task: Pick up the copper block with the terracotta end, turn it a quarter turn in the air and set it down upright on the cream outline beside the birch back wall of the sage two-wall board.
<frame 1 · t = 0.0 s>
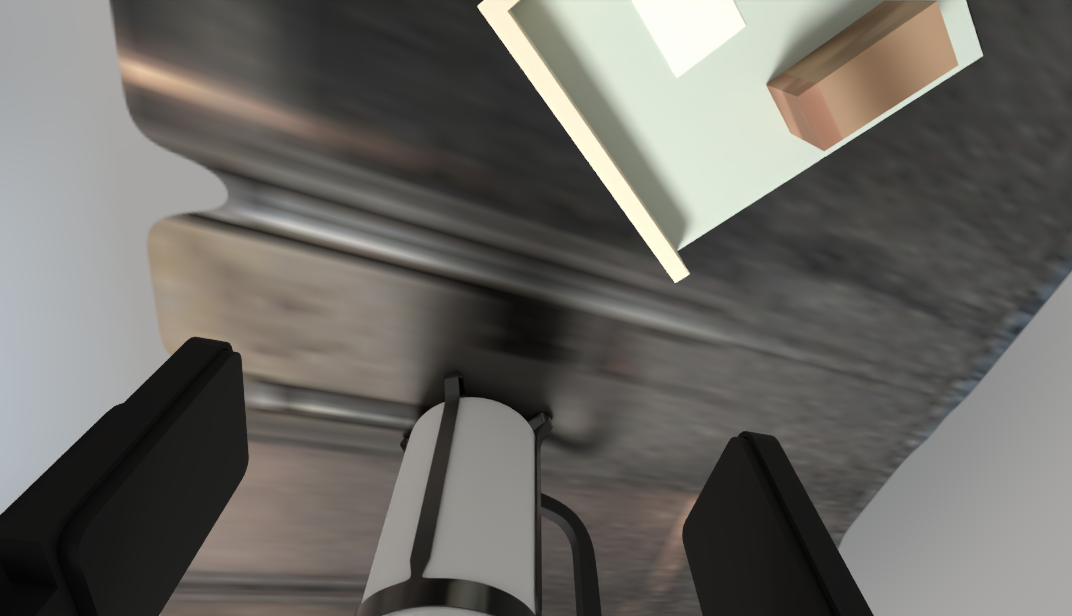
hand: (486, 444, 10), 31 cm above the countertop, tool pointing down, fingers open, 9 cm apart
copper block: (835, 70, 35), resting on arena
coffee press: (490, 430, 52), on the countertop
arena: (735, 30, 34), on the countertop
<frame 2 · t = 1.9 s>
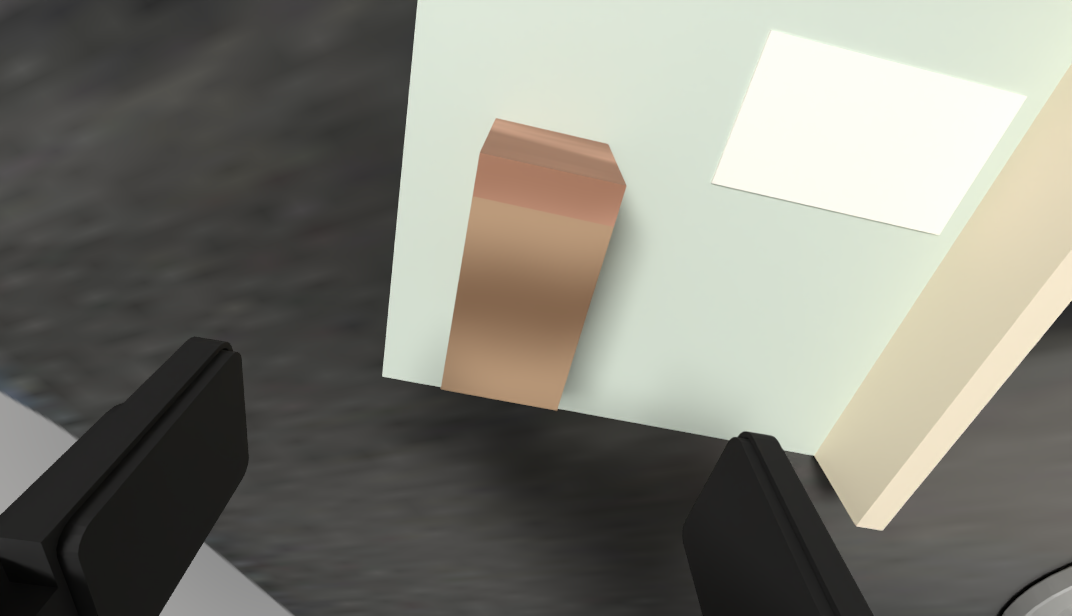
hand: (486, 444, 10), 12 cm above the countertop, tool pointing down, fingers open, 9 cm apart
copper block: (528, 236, 20), resting on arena
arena: (712, 165, 19), on the countertop
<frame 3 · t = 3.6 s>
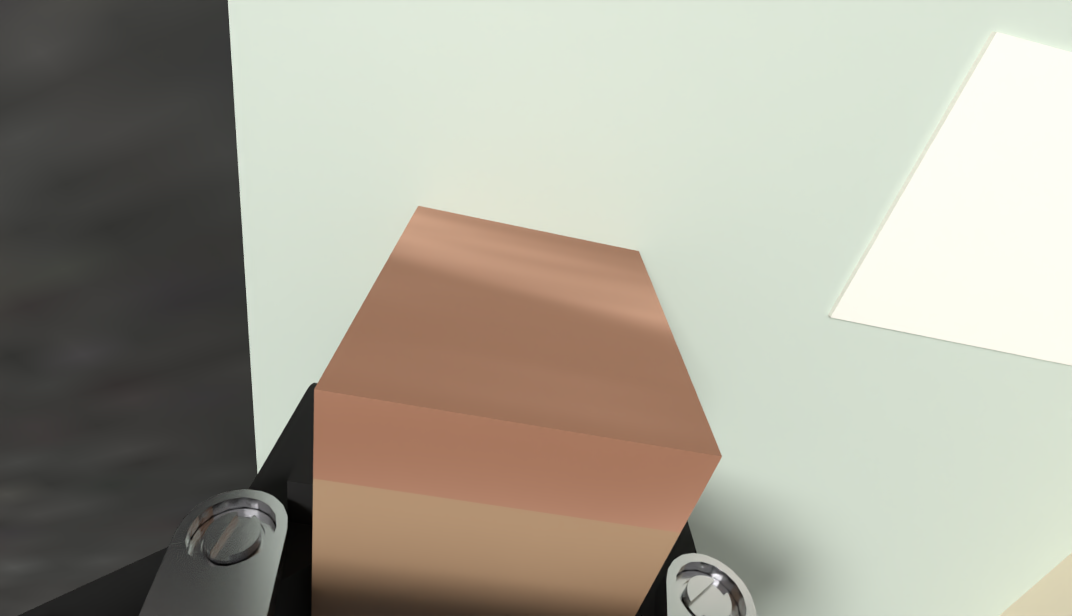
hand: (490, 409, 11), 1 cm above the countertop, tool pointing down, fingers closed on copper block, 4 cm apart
copper block: (491, 400, 11), point 1 cm above the countertop, touching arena, gripper
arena: (828, 280, 11), on the countertop
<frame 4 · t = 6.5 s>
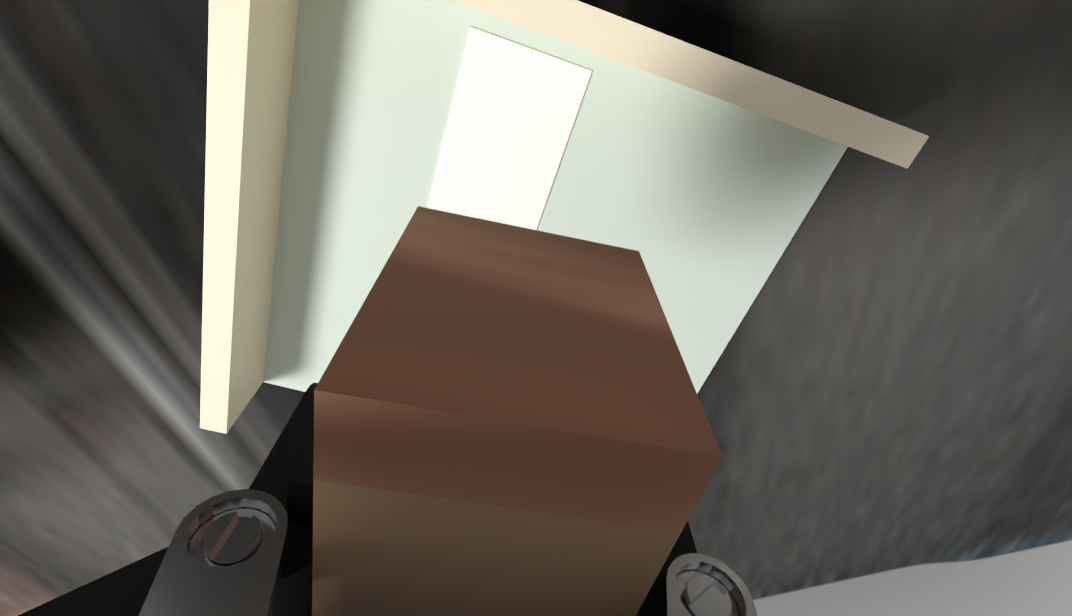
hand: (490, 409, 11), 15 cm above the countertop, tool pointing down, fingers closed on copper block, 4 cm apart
copper block: (492, 400, 11), point 15 cm above the countertop, touching gripper
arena: (513, 258, 26), on the countertop
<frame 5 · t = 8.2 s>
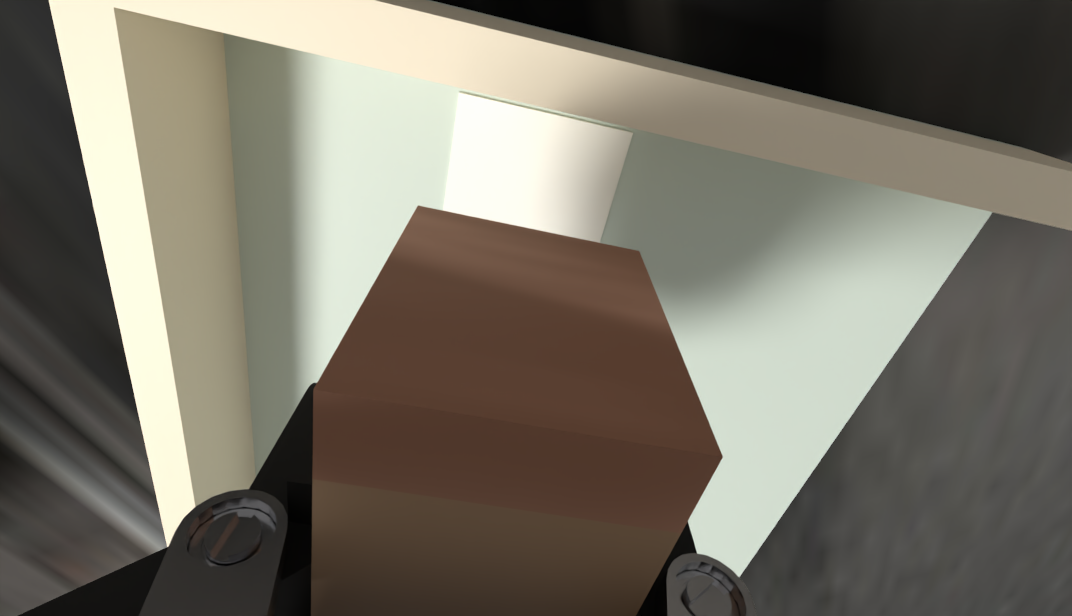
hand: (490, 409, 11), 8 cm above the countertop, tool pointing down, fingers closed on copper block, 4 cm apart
copper block: (491, 400, 11), point 7 cm above the countertop, touching gripper
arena: (545, 365, 20), on the countertop
when the fingers open (2 cm above the countertop, at t = 9.6 s): copper block stays where it is, resting on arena.
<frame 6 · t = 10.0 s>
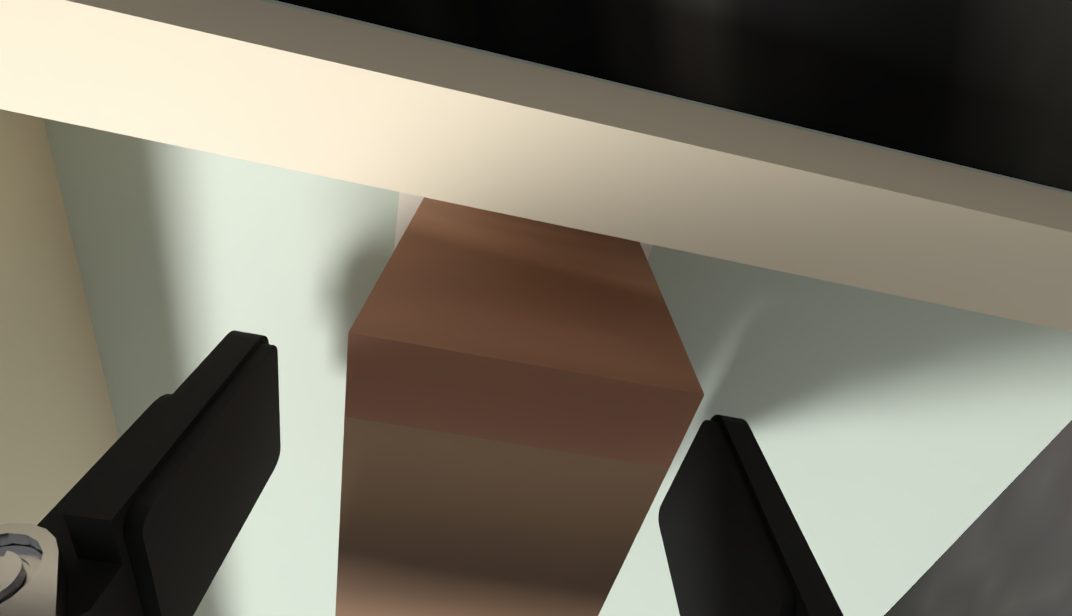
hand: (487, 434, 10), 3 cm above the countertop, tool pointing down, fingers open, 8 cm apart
copper block: (497, 372, 12), point 1 cm above the countertop, touching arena
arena: (537, 497, 15), on the countertop
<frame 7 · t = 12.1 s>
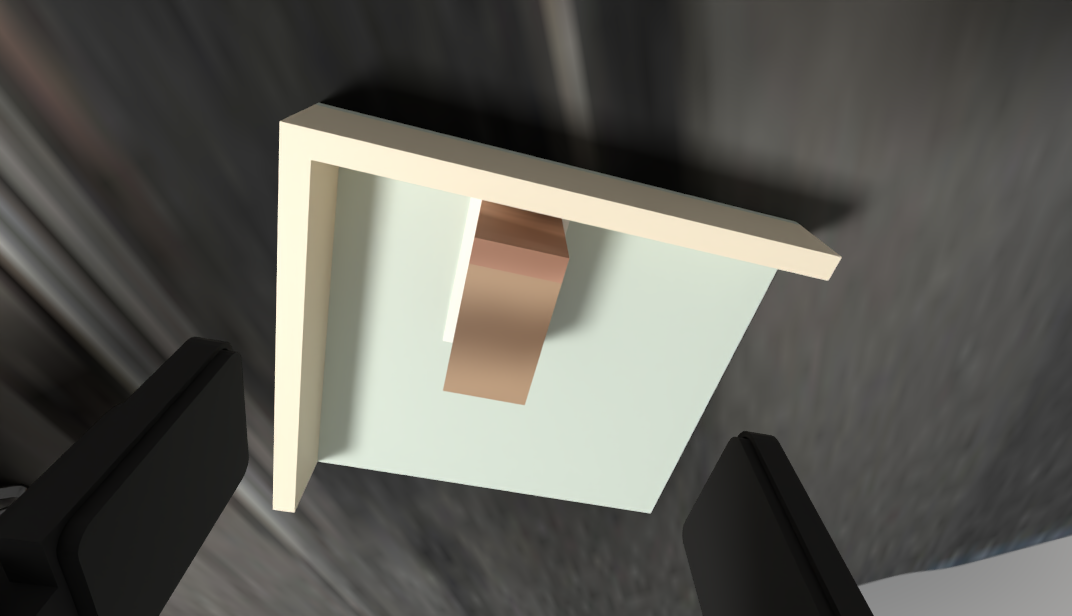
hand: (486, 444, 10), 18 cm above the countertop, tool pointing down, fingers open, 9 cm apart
copper block: (504, 279, 28), point 1 cm above the countertop, touching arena
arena: (520, 350, 31), on the countertop
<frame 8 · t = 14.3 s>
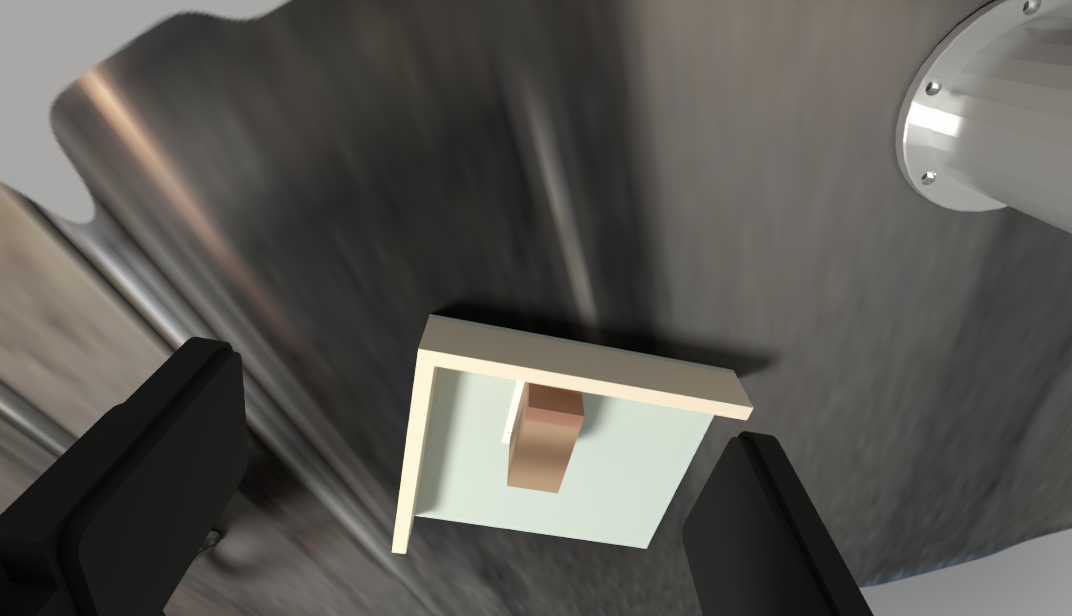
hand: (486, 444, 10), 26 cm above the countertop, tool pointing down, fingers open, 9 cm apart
copper block: (543, 407, 43), point 1 cm above the countertop, touching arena
coffee press: (156, 513, 51), on the countertop
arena: (553, 445, 46), on the countertop
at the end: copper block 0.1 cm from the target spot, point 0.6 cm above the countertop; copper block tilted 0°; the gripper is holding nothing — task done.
